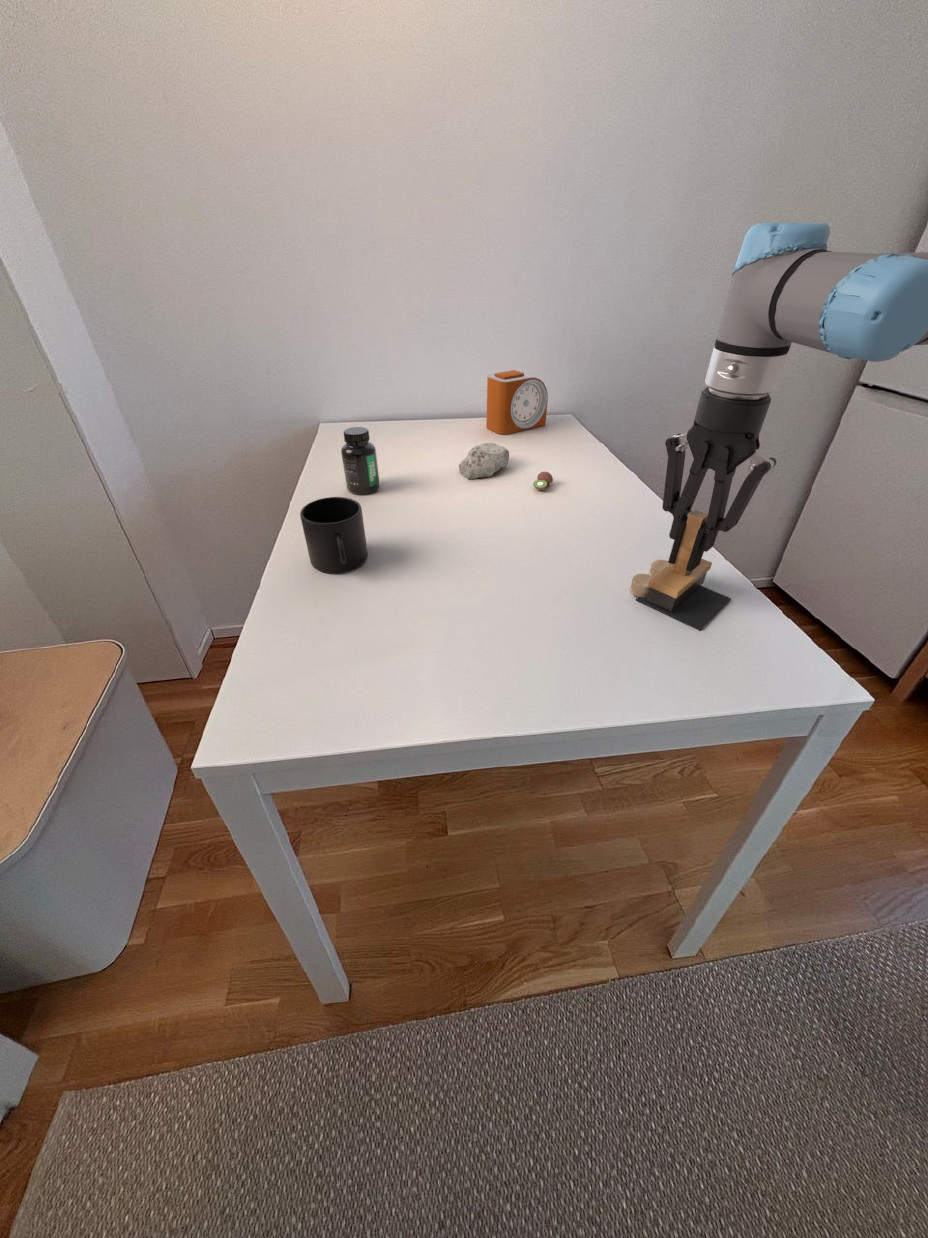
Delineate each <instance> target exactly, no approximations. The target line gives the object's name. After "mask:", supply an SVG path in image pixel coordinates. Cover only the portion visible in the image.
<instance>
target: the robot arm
mask: <svg viewBox="0 0 928 1238" xmlns="http://www.w3.org/2000/svg"><path fill="white" fill-rule="evenodd" d="M830 235H831V228H830V226H829V224H828V223H826V222H811V221H763V222H758V223H756V224H754V225H753V226H752V227H750V228H749V230H747V232H746V234H745V236H744V238H743V242H742V244H741V248H740V250H739V254H738V257H737V259H736V263H735V266H734V269H733V270H732V271H731V279H730V284H729V289H728V292H727V296H726V300H725V303H724V304H725V305H724V308H723V310H722V315H721V319H720V323H719V326H718V330H717V334H716V337H715V341H714V346H713V350H712V353H711V356H710V359H709V363H708V366H707V367H708V368H707V372H706V374H705V379H704V384H705V386H706V387H705V388H704V389H703V390H701V393H700V396H699V400H698V404H697V407H696V412H695V414H694V420H693V421H694V422H693V424H692V425H691V427H690V428H688V429H687V432H686V433H685V432H684V433H676V434H674V435H672V436H670V437H668V438H667V439H666V440H665V441H664V443H665V444H664V445H665V448H666V449H665V450H666V453H667V463H666V472H665V482H664V491H663V499H662V510H663V511H664V512H668V513H670V514H671V515H672V519H673V520H672V524H671V527H670V531H669V534H668V535H669V539H671V540H673V544H672V547H671V551H670V554H669V558H668V560H667V561H668V563H670V564H674V563H675V560H676V556H677V553H678V549H679V546H680V543H681V539H682V536H683V532H684V529H685V526H686V522H687V519H688V515H689V514H691V513H692V512H693V509H692V508H693V505H694V503H695V501H696V499H697V497H698V493H699V491H700V490H701V489H700V488H701V487H702V485H703V482H704V479H705V477H706V474H707V472H708V470H709V469H710V470H712V471H714V476H713V481H714V483H713V488H712V493H711V498H710V503H709V508H708V513H707V514H708V517H707V522H706V524H705V525H703V526H702V527H701V528H699V529H698V533H697V536H696V539H695V542H694V545H693V548H692V552H691V555H690V558H689V561H688V564H687V568H686V570H687V571H690V572H691V571H693V570H694V569H695V568H696V567H697V566H698V565H700V562H701V559H703V556H704V553H707V552H709V551H710V550H712V548H713V547H714V546H715V543H716V539H717V537H718V534H719V532H720V531H722V532H724V533H728V532H730V530H732V529H734V527H735V526H737V525H738V523H739V522H740V520H741V517H742V516H743V514H744V512H745V510H746V509H747V507H748V506H749V503H750V501H751V499H752V498H753V496H754V494H755V492H756V491H757V489H758V487H759V485H760V483H761V482H762V479H764V476H766V475H767V474H768V472H770V471H771V470H772V469H773V468H775V466H776V465H777V459H776V458H775V457H772V456H771V457H770V456H769V457H768V456H766V455H765V453H763V452H762V451H761V450H760V447H761V442H760V433H761V430H762V428H763V425H764V422H765V419H766V416H767V414H768V410H769V408H770V405H771V403H772V398H771V395H770V394H771V393H772V392H775V390H776V388H777V386H778V383H779V380H780V377H781V374H782V371H783V368H784V365H785V362H786V359H787V357H788V354H789V351H790V348H791V346H792V343H793V344H797V345H801V346H803V347H808V348H812V349H814V350H815V349H816V350H819V351H823V352H826V353H829V354H832V355H834V356H838V358H841V359H845V360H854V359H856V360H863V361H867V362H872V363H874V362H875V363H877V362H878V363H880V362H884V361H885V362H886V361H889V360H892V359H894V358H897V357H898V356H899V355H900V353H902V352H905V351H906V350H910V349H911V348H912V347H914V346H927V345H928V251H919V252H914V251H913V252H887V253H886V252H884V253H873V252H872V253H870V252H851V251H849V252H845V251H832V250H828V245H827V244H828V241H829V238H830ZM688 447H689V449H690V452H691V455H692V458H693V461H692V462H691V465H690V468H689V471H688V472H689V474H688V477H687V480H686V482H685V483H684V486H683V485H682V483H683V476H684V468H685V462H686V450H688ZM749 459H750V463H749V465H748V471H749V472H750V473H749V474H748V475H747V476H746V477H745V479H744V480H743V482H742V485H741V486H740V488H739V490H738V491H737V494H736V496H735V497H734V498H733V502H732V503H731V505H730V507H729V509H728V511H727V513H726V509H727V505H728V501H729V496H730V491H731V487H732V483H733V478H734V476H735V475H736V471H737V467H739V466H740V465H742V463H745V461H747V460H749ZM682 486H683V489H682ZM725 513H726V514H725Z"/></svg>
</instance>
